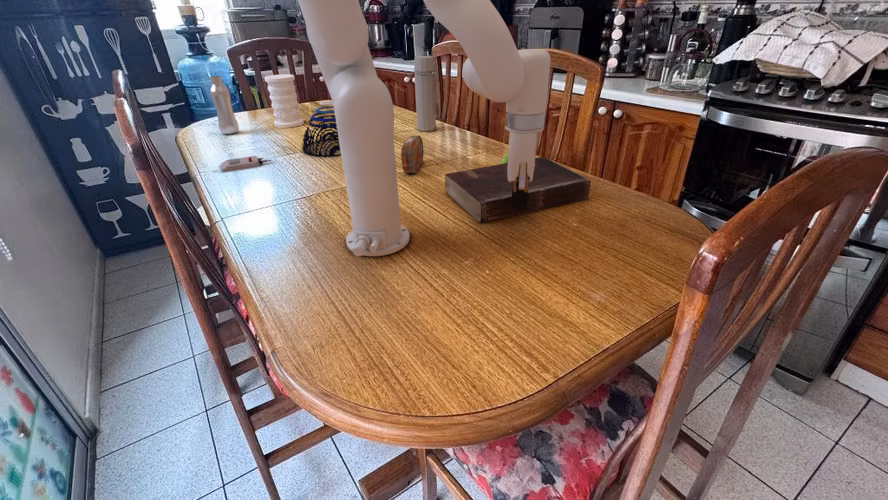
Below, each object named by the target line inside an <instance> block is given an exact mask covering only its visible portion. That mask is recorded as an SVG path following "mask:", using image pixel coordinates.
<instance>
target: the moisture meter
mask: <svg viewBox="0 0 888 500" xmlns="http://www.w3.org/2000/svg"><path fill="white" fill-rule="evenodd" d="M263 159H265V158H264V157H258V156H257V155H252V156H243V157H237V158H231V159H225V161H222V162H221V164H220V165H221V170H222V173H226V172H227V173H228V172H232V171H238V170H245V169H252V168H258V167H260V165H262V164H263V163H268V162H272V159H265V160H263Z"/></svg>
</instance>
